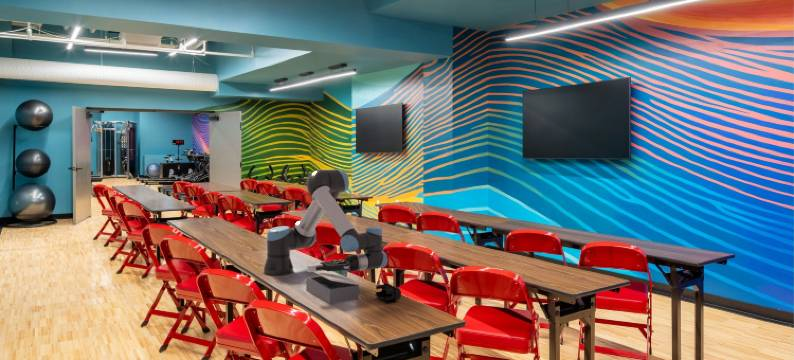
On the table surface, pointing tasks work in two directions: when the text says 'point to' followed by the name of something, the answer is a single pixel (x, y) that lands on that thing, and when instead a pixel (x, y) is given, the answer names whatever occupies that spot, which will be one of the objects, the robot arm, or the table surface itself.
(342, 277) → the cover
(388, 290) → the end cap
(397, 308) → the table surface
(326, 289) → the grey tray
